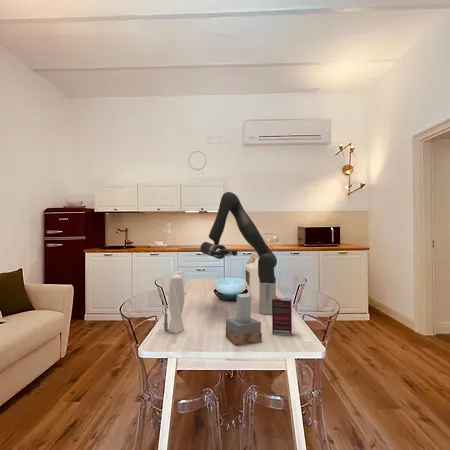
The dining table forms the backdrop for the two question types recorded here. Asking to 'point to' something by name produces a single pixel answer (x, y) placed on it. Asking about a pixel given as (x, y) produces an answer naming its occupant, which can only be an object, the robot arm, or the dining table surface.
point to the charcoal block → (243, 326)
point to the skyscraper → (175, 304)
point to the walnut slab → (244, 338)
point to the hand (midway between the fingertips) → (227, 253)
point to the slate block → (243, 308)
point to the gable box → (252, 273)
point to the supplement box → (281, 316)
